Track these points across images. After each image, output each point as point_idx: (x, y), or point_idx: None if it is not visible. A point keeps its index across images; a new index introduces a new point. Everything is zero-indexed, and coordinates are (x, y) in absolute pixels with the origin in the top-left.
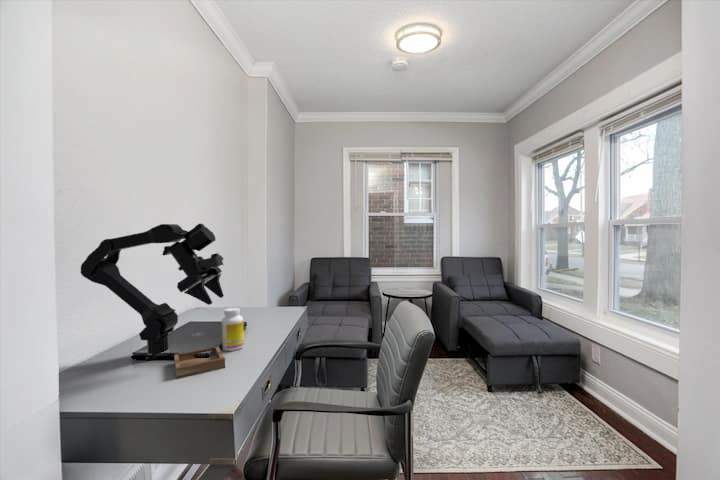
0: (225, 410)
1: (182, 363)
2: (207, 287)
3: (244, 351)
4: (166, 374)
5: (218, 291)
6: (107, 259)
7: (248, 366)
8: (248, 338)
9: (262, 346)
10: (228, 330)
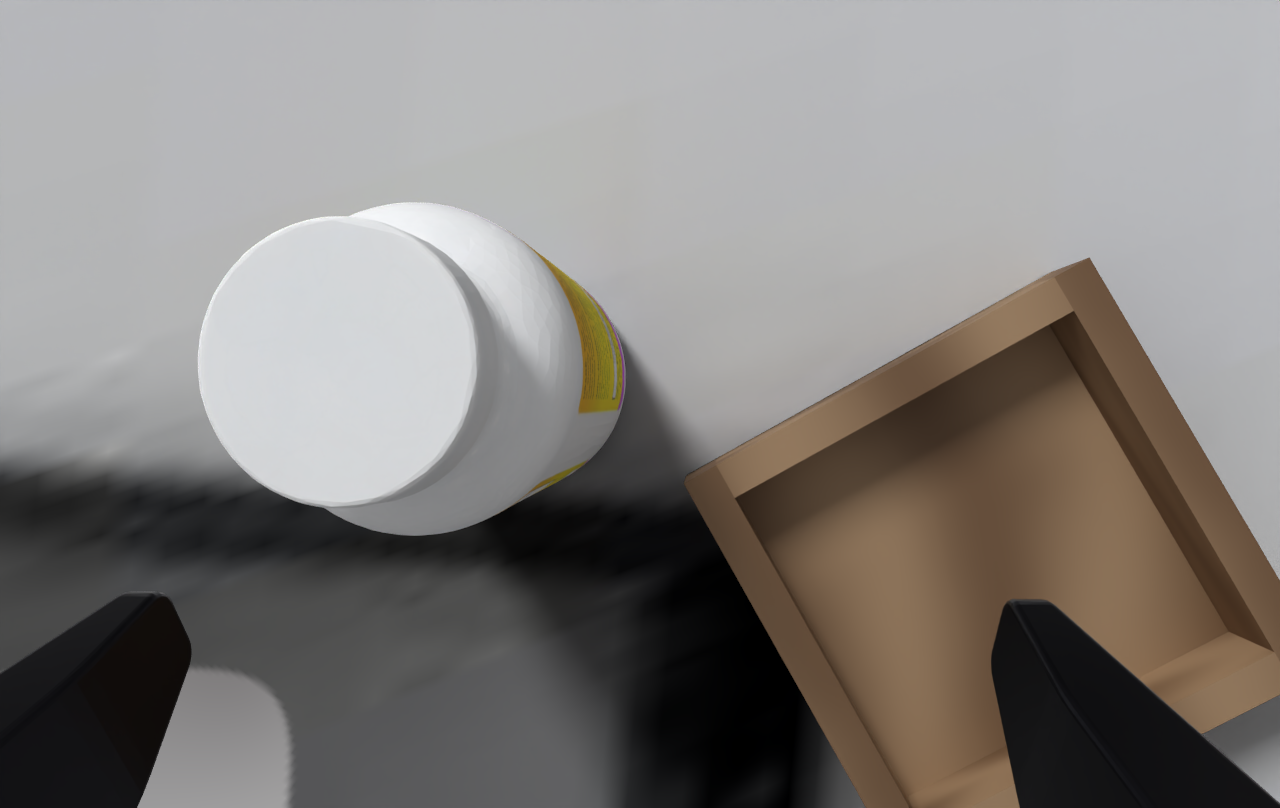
0: None
1: (963, 731)
2: None
3: (630, 224)
4: None
5: (47, 797)
6: None
7: (1038, 50)
8: None
9: (499, 72)
10: (594, 380)
